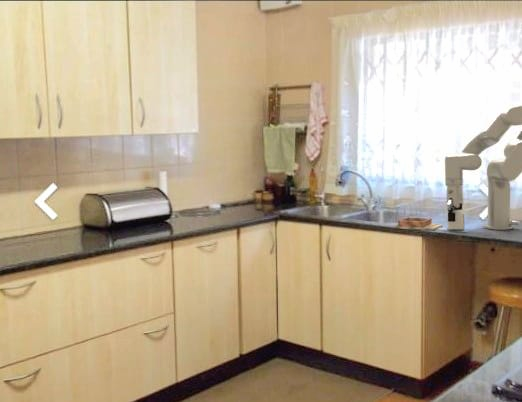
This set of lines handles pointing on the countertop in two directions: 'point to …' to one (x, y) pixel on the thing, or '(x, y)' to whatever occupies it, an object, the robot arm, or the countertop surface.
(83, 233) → the countertop surface
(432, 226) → the dock board
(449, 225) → the medicine bottle
